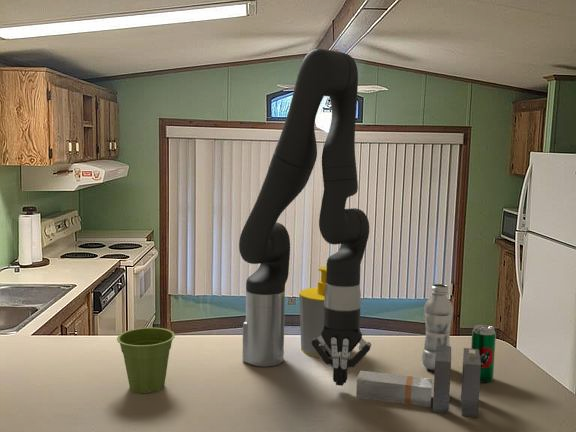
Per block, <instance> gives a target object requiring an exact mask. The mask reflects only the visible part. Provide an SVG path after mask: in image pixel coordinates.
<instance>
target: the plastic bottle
mask: <svg viewBox="0 0 576 432" xmlns="http://www.w3.org/2000/svg"><path fill="white" fill-rule="evenodd" d="M430 294H431V296H430V297H428V298H427V300H426V302H425V304H424V306H423V311H424V321H425V337H424V338H425V339H424V347H423V349H422V355H421V359H422V364H423V366H424V367H425V369H428V370H431V371H435V357H436V345H440V346H450V347H451V343H450V341H451V339H450V337H451V336H450V334H451V333H450V332H451V323H452V319H453V313H454V307H453V304H452V302H451V300H450V299H449V297H448V295H449V285H447V284H444V283H443V284H441V283H434V284H431V290H430Z"/></svg>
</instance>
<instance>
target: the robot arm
mask: <svg viewBox="0 0 576 432" xmlns="http://www.w3.org/2000/svg"><path fill="white" fill-rule="evenodd" d="M358 85H359V71H358V66H357V62H356V61H355V59H354V57H352V56H351V55H350V54H348V53H345V52H341V51H336V50H331V49H326V48H315V49H312V50H310V51H309V52H308V53H307V54H306V55H305V56H304V58H303V60H302V62H301V64H300V67H299V69H298V74H297V76H296V80H295V84H294V88H293V93H292V97H291V101H290V105H289V108H288V112H287V116H286V118H285V121H284V125H283V128H282V131H281V132H280V133H281V134H280V136H279V138H278V142H277V144H276V146H275V148H274V151H273V155H272V157H271V161H270V162H269V166H268V169H267V173H266V175H265V178H264V180H263V182H262V185H261V189H260V192H259V193H258V196H257V199H256V201H255V203H254V205H253V208H252V210H251V212H250V213H249V216H248V218H247V220H246V222H245V224H244V226H243V228H242V230H241V233H240V236H239V242H238V243H239V244H238V248H239V249H238V250H239V254H240V256H241V259H242V260H243V261H244V262H246V263H248V264H250V265H258V264H260V265H259V267H258V268H257V270H255V271H254V272H253V273H252V274H251V275H250V276H248V277H247V279H246V282H245V321H244V322H243V323H242V362H243V363H247V364H249V365H252V366H257V367H273V366H277V365H280V364H282V363H283V362H284V358H285V357H284V355H285V313H286V312H285V310H286V309H285V306H286V305H285V303H286V302H285V301H286V300H285V299H286V283H287V282H288V278H289V270H290V269H289V268H290V259H291V257H290V256H291V238H290V234H289V232H288V230H287V228H286V226H285V225H284V224H282V223H280V222H277V221H278V219H279V218H280V216H281V215H282V213H284V211H285V210H286V209H287V208H288V206H289V205H290V204H291V203H293V201H295V200H296V198H297V197H298V196H299V195H300V194H301V193H302V191H303V190H304V189H305V187H306V186H307V184H308V182H309V179H310V177H311V175H312V172H313V170H314V167H315V165H316V161H317V158H318V144H317V138H316V131H315V123H316V118H317V115H318V111H319V108H320V105H321V103H322V101H323V98H324V97H328V98H329V99H330V106H331V121H330V125H329V130H328V133H327V136H326V139H325V142H324V144H323V148H322V151H321V172H322V183H323V194H322V199H321V203H320V204H321V207H320V209H319V210H320V211H319V219H318V226H319V227H318V228H319V232H320V235H321V236H322V239H324V241H325V242H326V243H327V244H330V245H340V246H339V249H338V251H337V252H335V253H333V254H331V255H329V256H328V258H327V259H326V267H327V268H326V288H325V300H324V328H323V331H322V332H321V335H320V336H318V337H315V338H314V339H313V341H312V345H313V347H314V348H315V350H316V351H317V352H318V354H319V355H320V357H319V358H321V359H322V361H323V362H324V364H325V365H329V366H331V367H332V369H333V370H332V373H333V374H332V380H333V382H334V383H335V386H342V387H343V386H344V384H346V383H347V380H348V377H349V376H348V374H349V373H348V372H349V371H348V370H349V369H348V368H355V367H356V365H358V363H360V362H361V360H362V359H363V358H364V357H365V356H366V355H367V354H368V352H369V351H370V350H371V348H372V343H371V342H369V341H368V342H367V341H366V340H365V339H364V338H363V334H362V331H361V305H362V294H361V293H362V292H361V291H362V290H361V266H362V265H361V264H362V260H363V257H364V254H365V252H366V247H367V245H368V240H369V237H370V223H369V218H368V216H367V215H366V213H365V212H364V210H361V209H359V208H355V207H354V208H346V204H347V200H348V198H350V197H353V196H355V195H356V194H357V193H358V191H359V183H358V182H359V181H358V171H357V170H358V169H357V161H356V147H355V146H356V144H355V140H356V121H357V120H356V119H357V105H358V104H357V102H358V87H359V86H358ZM324 341H325V342H326V344H327V345H328V347H329V348H330V349H331V350H332V356H331V354H330V353H329V352H328V350H327V349H326V347H325V346H324ZM358 344H359V346H358ZM357 346H358V351H357V352H356V353H355V355H354V356H353V357H352V358H350V354H351V352H352V351H353V350H354V349H355V348H356V347H357ZM341 352H342V355H340V353H341Z"/></svg>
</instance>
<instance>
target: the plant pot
mask: <svg viewBox="0 0 576 432" xmlns="http://www.w3.org/2000/svg"><path fill="white" fill-rule="evenodd" d="M175 337H176V334H175V332H173V331H172V330H170V329H168V328H162V327H139V328H134V329H130V330H127V331H124V332H122V333H120V334H119V335H118V336H117V337H116V340H117V343H119V345H120V350H121V353H122V355H123V359H124V365H125V370H126V374H127V382H128V384H129V385H128V386H129V388H130V390H131V391H132V392H135V393H138V394H147V393H149V392H158V391H160V390H162V389H163V388H164V387H165V385H166V378H167V377H166V376H167V370H168V363H169V357H170V351H171V349H172V344H173V340H174V339H175Z"/></svg>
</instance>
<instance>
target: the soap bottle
mask: <svg viewBox="0 0 576 432" xmlns="http://www.w3.org/2000/svg"><path fill="white" fill-rule="evenodd" d="M326 268H327V266H320V267H318V270H317V271H320V280H318V281H317V287H316V286H315V287H309V288H304V289H302V290H300V291H299V293H298V297H299V299H298V300H299V321H300V325H299V326H300V327H299V328H300V350H301V352H303V353H304V354H305V353H306V355H308V356H311V357H317V358H321V357H320V355H319V354H318V352H317V351H316V350H315V348H314V347H313V345H312V341H313V339H314V338H315V337H318V336H320V335H321V332H322V331H323V328H324V300H325V288H326ZM324 346H325V347H326V349H327V350H328V352H329V353H330V354H331V356H332V350H331V349H330V348H329V347H328V345H327V344H326V342H325V341H324ZM340 356H342V352H341V353H340Z"/></svg>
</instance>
